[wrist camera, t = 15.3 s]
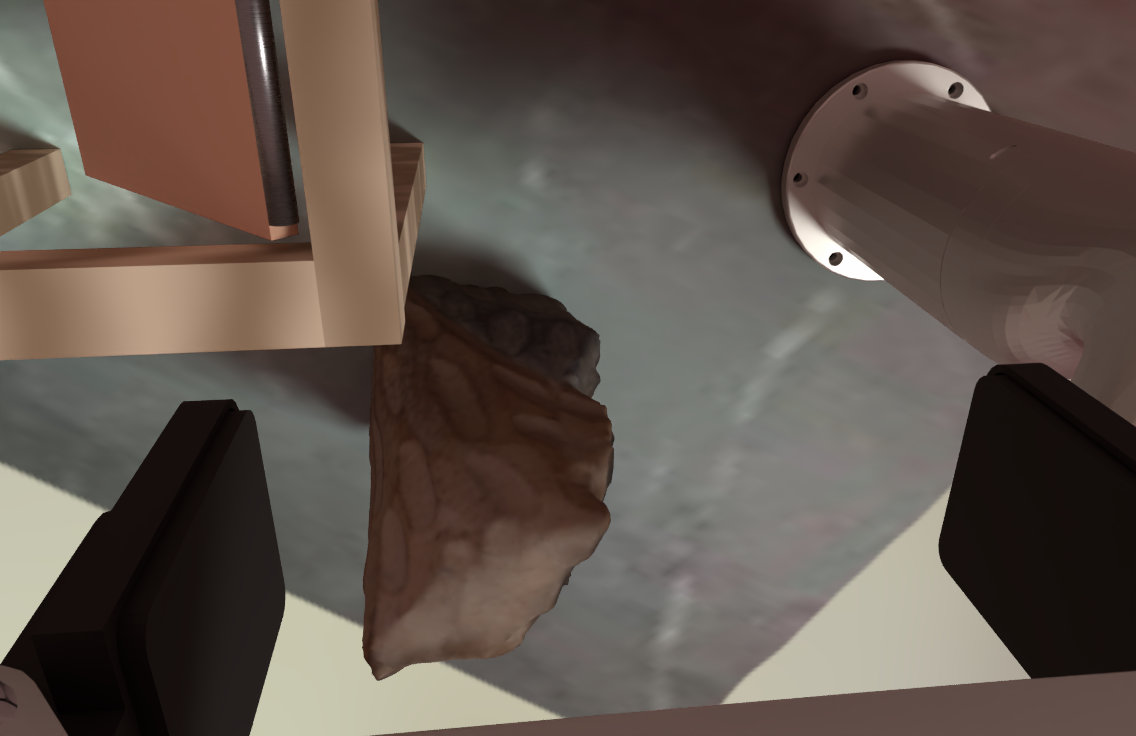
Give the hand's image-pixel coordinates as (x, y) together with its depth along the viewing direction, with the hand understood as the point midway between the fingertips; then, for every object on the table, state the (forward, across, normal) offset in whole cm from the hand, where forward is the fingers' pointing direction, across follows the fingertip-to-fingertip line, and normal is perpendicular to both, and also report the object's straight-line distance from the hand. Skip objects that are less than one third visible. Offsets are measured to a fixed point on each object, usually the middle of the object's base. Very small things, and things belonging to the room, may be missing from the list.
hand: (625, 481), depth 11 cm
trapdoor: (+24, +12, -5) cm, 27 cm away
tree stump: (+38, +3, +15) cm, 41 cm away
